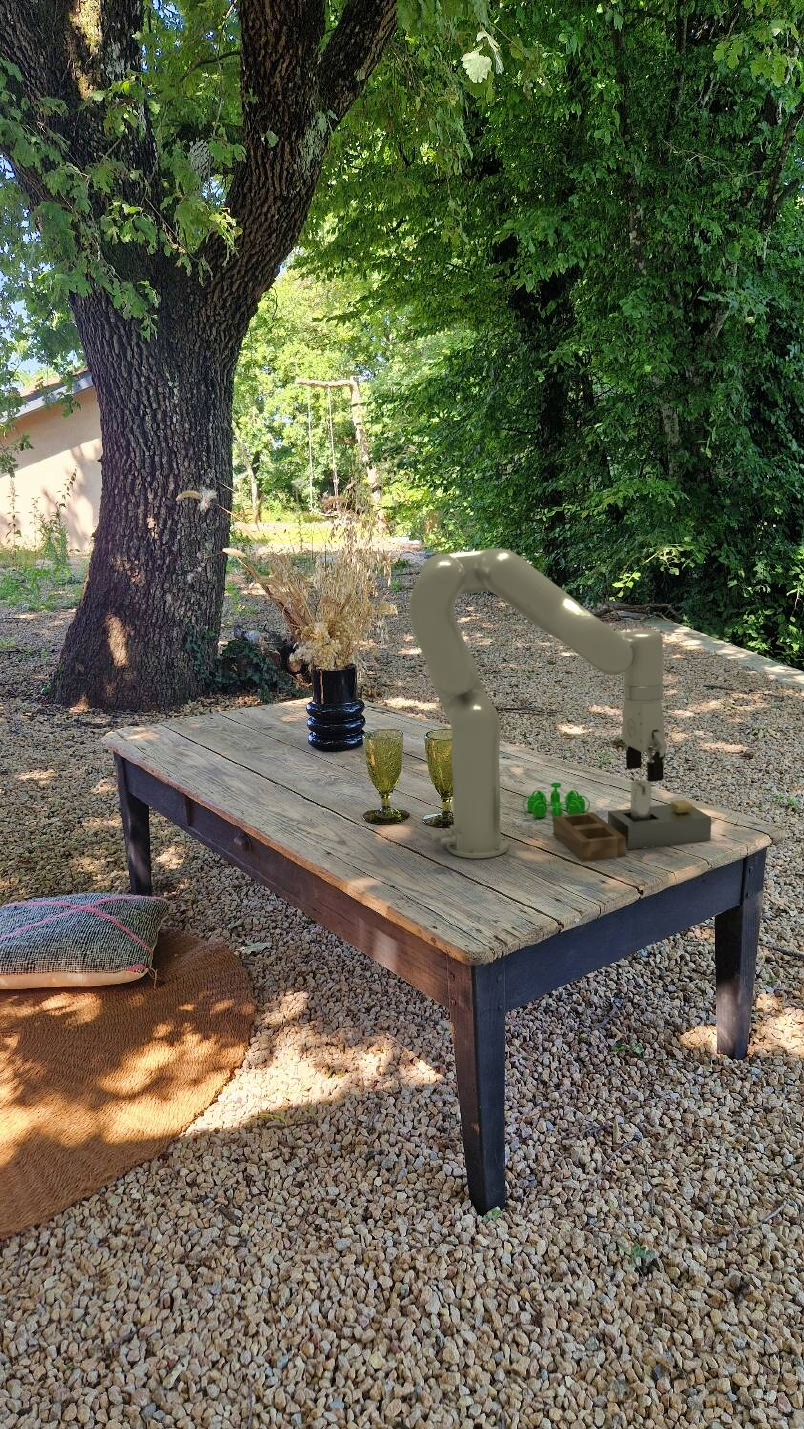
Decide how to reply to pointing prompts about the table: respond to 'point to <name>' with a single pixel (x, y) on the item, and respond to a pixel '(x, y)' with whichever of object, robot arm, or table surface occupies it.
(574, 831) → the frame
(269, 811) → the table surface
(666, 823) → the socket block
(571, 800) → the chandelier
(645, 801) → the grey tall cylinder
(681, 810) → the release key
